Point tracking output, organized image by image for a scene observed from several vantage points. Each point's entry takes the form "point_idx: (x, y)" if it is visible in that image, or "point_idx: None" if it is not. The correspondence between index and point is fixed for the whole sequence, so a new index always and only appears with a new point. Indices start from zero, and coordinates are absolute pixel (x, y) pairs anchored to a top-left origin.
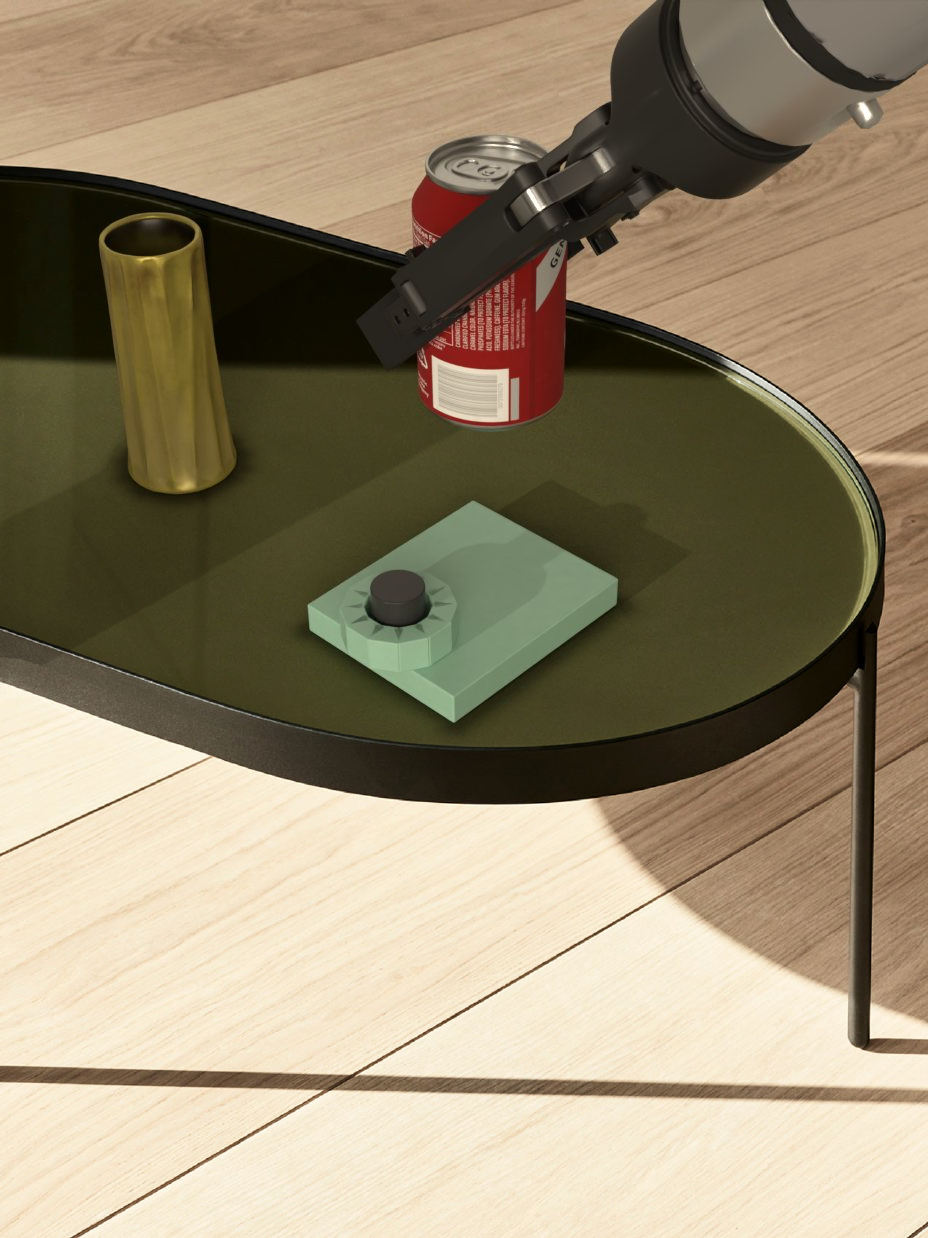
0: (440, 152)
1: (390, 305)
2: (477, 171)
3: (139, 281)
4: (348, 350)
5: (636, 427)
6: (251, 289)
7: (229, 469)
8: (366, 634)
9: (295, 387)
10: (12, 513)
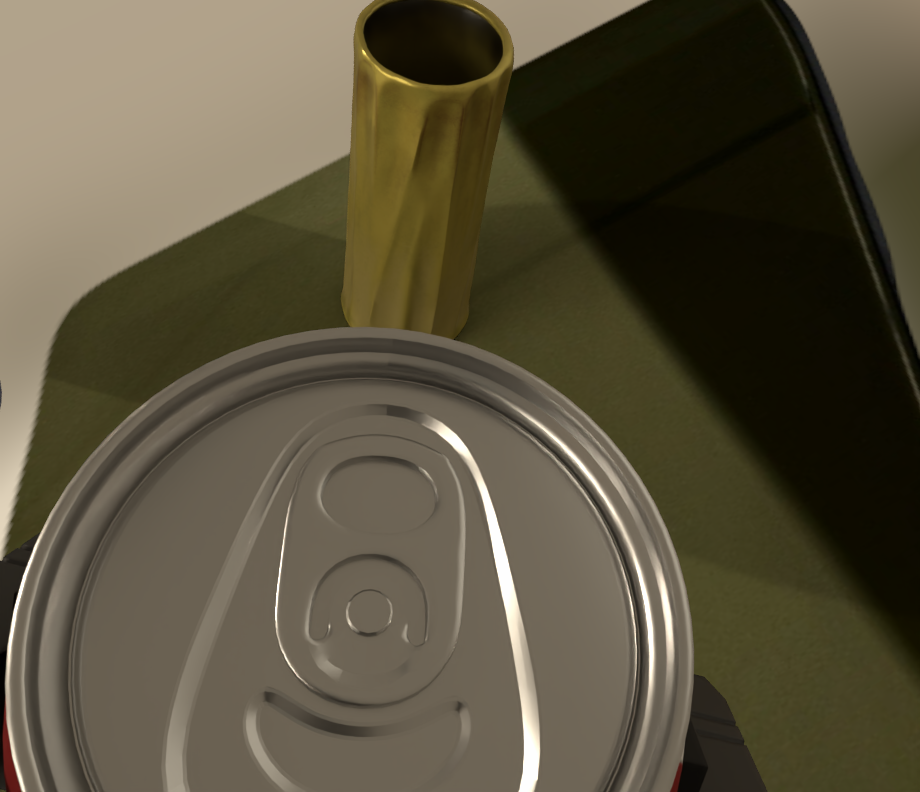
0: (402, 355)
1: (25, 544)
2: (334, 564)
3: (358, 83)
4: (710, 345)
5: (829, 781)
6: (736, 204)
7: None
8: None
9: (608, 331)
10: (243, 209)
